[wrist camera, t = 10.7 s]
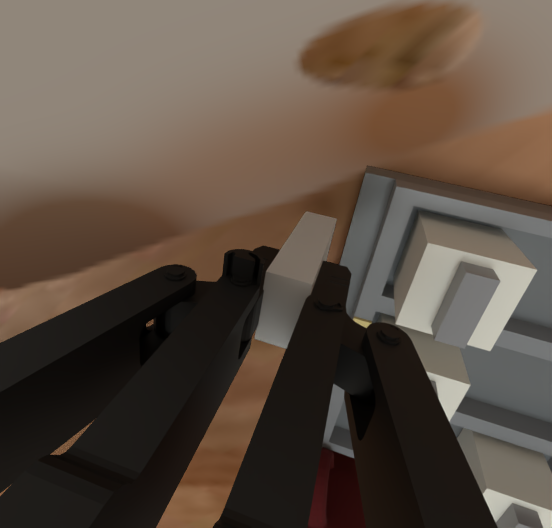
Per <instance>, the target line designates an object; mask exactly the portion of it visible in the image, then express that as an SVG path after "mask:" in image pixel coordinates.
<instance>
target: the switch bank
mask: <svg viewBox="0 0 552 528" xmlns="http://www.w3.org/2000/svg"><path fill="white" fill-rule="evenodd" d="M418 210H420V211H425V212H429V213H433V214H437V215H442V216H446V217H450V218H454V219H459V220H463V221H467V222H471V223H476V224H480V225H484V226H488V227H493V228H497V229H501V230H503V231H504V232H505V233H506V234H507V235H508V237H509V238H510V239H511V240H512V241H513V242H514V244H515V245H516V246H517V247H518V248H519V249H520V250H521V252H522V253H523V254H524V255H525V256H526V257H527V259H528V260H529V261H530V262H531V263H532V264H533V265H534V267H535V268H536V269H537V272H536V273H535V275H534V277H533V279H532V280H531V282H530V284H529V285H528V287H527V289H526V291H525V292H524V294H523V296H522V297H521V299H520V301H519V303H518V304H517V306H516V308H515V310H514V311H513V313H512V315H511V316H510V318H509V320H508V322H507V323H506V325H505V327H504V329H503V330H502V332H501V334H500V335H499V337H498V339H497V341H496V342H495V344H494V346H493V347H492V349H491V351H487V350H484V349H480V348H477V347H473V346H470V345H466V347H465V349H463V348H460V351H461V354H462V358H463V361H464V364H465V368H466V371H467V374H468V378H469V381H470V384H471V385H470V387H469V389H468V391H467V392H466V394H465V396H464V397H463V399H462V401H461V403H460V404H459V406H458V408H457V410H456V411H455V413H454V415H453V416H452V418H451V420H450V422H449V423H450V425H451V427H452V429H453V431H454V433H455V436H456V438H458V436H459V434H460V433H461V431H462V430H463V428H466V429H469V430H472V431H475V432H478V433H481V434H484V435H487V436H491V437H494V438H497V439H500V440H503V441H506V442H509V443H512V444H515V445H518V446H521V447H524V448H527V449H531V450H534V451H537V452H540V453H543V454H544V457H545V459H546V461H547V463H548V466H549V468H550V470H551V472H552V206H548V205H544V204H539V203H535V202H530V201H526V200H521V199H517V198H512V197H508V196H503V195H499V194H494V193H490V192H485V191H481V190H476V189H471V188H467V187H462V186H458V185H453V184H449V183H444V182H440V181H435V180H431V179H426V178H422V177H417V176H413V175H408V174H404V173H399V172H394V171H390V170H385V169H381V168H376V167H372V166H367V168H366V171H365V175H364V179H363V182H362V186H361V189H360V193H359V196H358V200H357V204H356V207H355V211H354V214H353V218H352V221H351V225H350V228H349V232H348V236H347V239H346V243H345V246H344V250H343V253H342V257H341V260H340V264H339V265H342V266H345V267H348V269H349V271H350V272H351V274H352V275H351V280H350V286H349V291H348V297H347V302H346V310H347V311H346V312H347V314H348V315H349V317H350V318H351V319H352V320H354V321H355V322H356V323H358V324H360V325H361V326H363V327H365V328H367V327H368V326H369V325H370V324H372V323H375V322H377V321H378V318H379V315H380V313H384V314H387V315H391V316H394V317H395V305H394V285H393V277H394V275H395V272H396V269H397V267H398V264H399V261H400V258H401V256H402V253H403V250H404V248H405V245H406V242H407V239H408V237H409V234H410V231H411V229H412V226H413V223H414V220H415V218H416V215H417V212H418ZM344 391H345V390H343V389H341V388H340V387H338V386H336V385H335V384H333V389H332V395H331V400H330V406H329V411H328V417H327V422H326V428H325V433H324V439H323V444H322V447H324V448H327V449H329V450H332V451H335V452H338V453H341V454H343V455H346V456H349V457H352V458H354V453H353V447H352V441H351V436H350V430H349V424H348V418H347V412H346V406H345V400H344Z"/></svg>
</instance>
